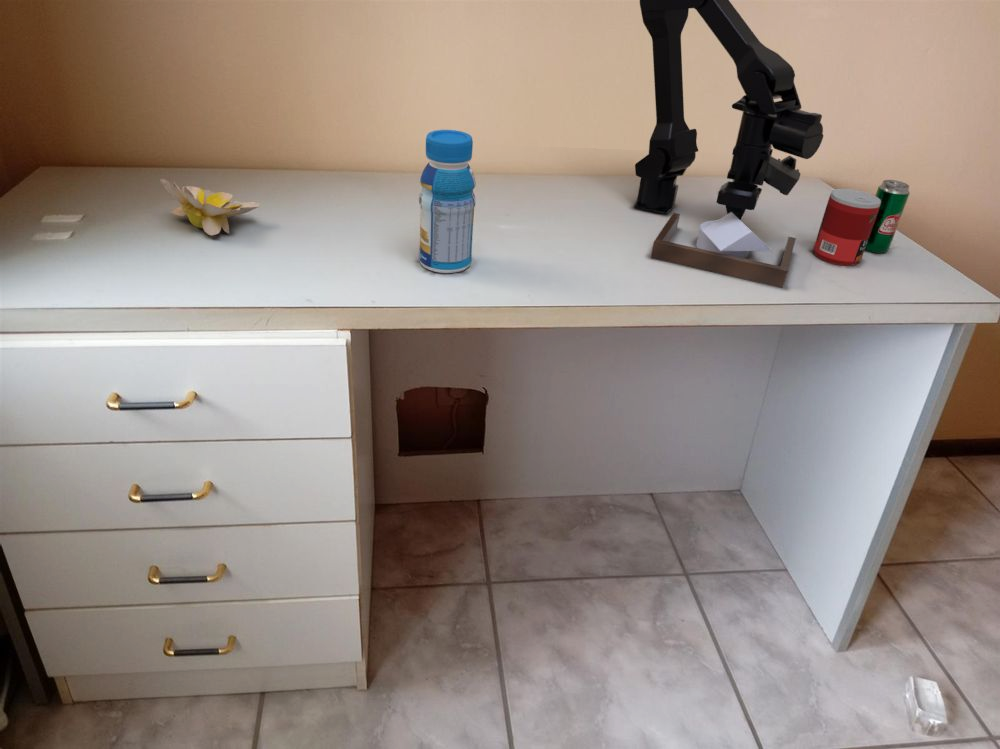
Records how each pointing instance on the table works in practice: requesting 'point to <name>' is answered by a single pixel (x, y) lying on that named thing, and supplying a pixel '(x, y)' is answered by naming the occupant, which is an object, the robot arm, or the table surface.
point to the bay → (719, 258)
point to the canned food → (846, 226)
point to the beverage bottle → (447, 202)
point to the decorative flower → (206, 207)
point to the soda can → (887, 214)
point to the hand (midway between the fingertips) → (733, 228)
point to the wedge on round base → (729, 237)
